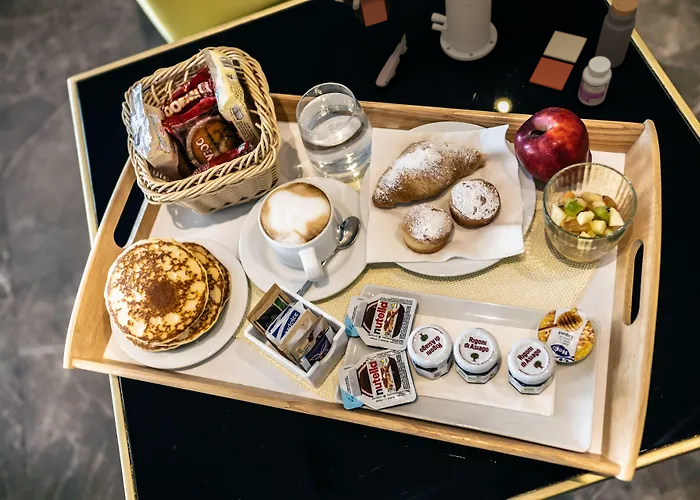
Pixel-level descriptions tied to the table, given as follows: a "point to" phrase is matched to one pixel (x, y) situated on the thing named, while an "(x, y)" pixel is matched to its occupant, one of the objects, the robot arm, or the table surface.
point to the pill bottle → (595, 81)
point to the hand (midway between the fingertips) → (373, 14)
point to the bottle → (617, 31)
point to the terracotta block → (373, 11)
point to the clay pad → (551, 73)
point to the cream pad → (565, 46)
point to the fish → (391, 64)
